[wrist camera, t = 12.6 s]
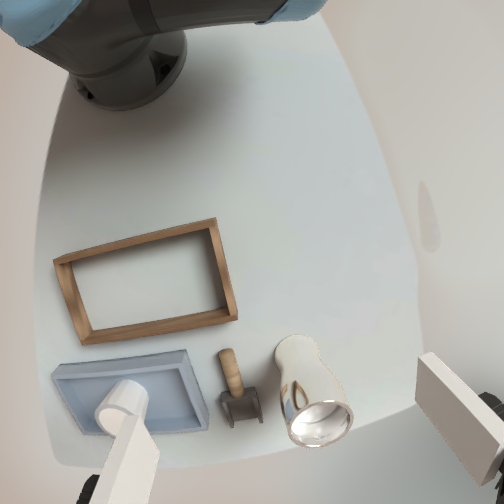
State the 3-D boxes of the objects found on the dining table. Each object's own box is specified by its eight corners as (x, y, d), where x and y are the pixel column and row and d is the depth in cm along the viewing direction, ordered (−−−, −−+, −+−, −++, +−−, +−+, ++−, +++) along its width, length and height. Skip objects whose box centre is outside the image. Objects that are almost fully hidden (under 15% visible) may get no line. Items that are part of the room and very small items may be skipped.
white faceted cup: (102, 378, 41) (85, 405, 34) (142, 373, 41) (128, 402, 34) (121, 413, 42) (108, 442, 35) (160, 409, 42) (150, 440, 35)
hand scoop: (208, 351, 41) (207, 359, 39) (243, 345, 41) (244, 352, 39) (230, 419, 44) (230, 428, 42) (262, 414, 44) (263, 422, 42)
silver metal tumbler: (262, 365, 42) (273, 442, 27) (285, 323, 41) (308, 391, 26) (306, 380, 43) (331, 453, 28) (330, 340, 41) (368, 407, 27)
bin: (60, 364, 41) (50, 375, 37) (185, 349, 41) (181, 362, 37) (90, 422, 43) (83, 434, 40) (209, 414, 43) (208, 429, 40)
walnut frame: (63, 255, 37) (52, 260, 35) (215, 217, 37) (213, 219, 35) (90, 335, 40) (82, 345, 37) (237, 310, 40) (237, 320, 37)
